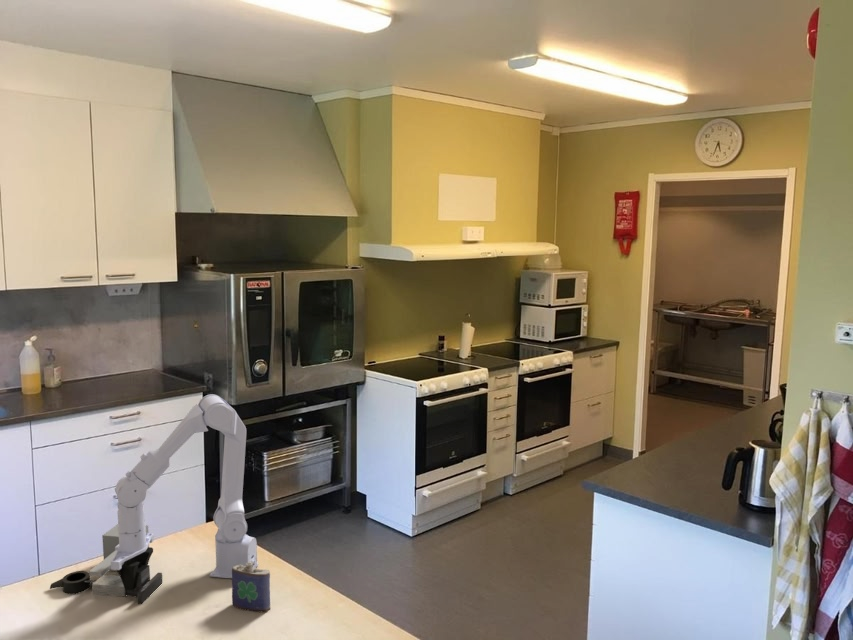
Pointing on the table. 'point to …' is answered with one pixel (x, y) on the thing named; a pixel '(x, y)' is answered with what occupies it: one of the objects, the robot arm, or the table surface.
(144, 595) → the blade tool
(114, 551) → the grey cube mallet
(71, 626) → the table surface
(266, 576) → the flask
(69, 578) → the black ring with tabs
